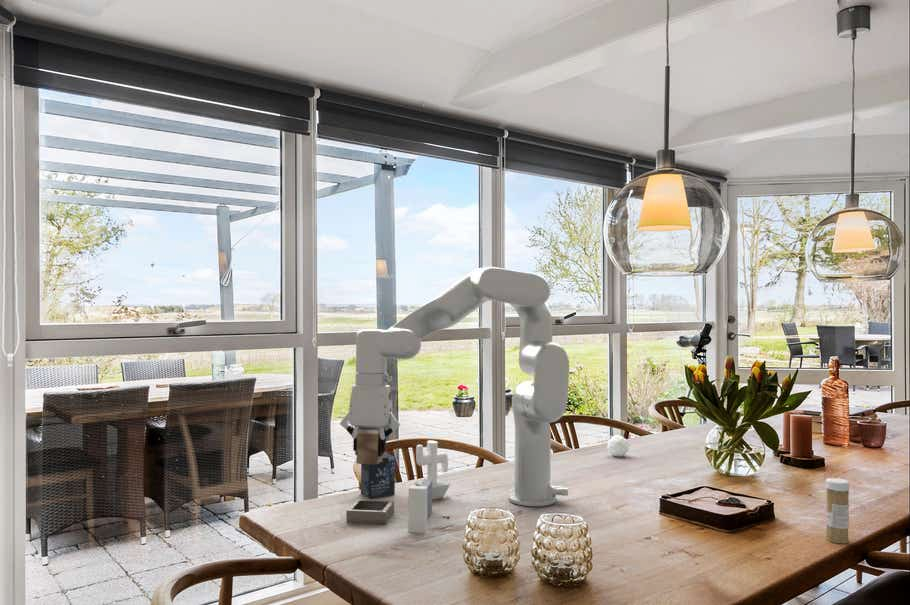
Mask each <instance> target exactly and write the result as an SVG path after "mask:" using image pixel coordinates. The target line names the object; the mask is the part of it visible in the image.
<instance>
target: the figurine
mask: <svg viewBox="0 0 910 605" xmlns="http://www.w3.org/2000/svg"><path fill="white" fill-rule="evenodd" d="M438 446H439V442H438V441H437V440H433V439H431V440H426V452H427V453H425V454H424V447H423V445H422V444H417V445H416V447H415V450H416V451H415V456H416V457H415V458H416V460H415V462H416V464H417V465H418V466H420V467H421V466H422V467H423V466H426V471H427V473H426V479H431V480H432V500H435V499H436V500H437V499H442V498H444V497H445V495H446V493H447V491H448V489H449V487H450V486H451V483H448V482H447V481H444V480H442V479H440V478H438V465H439V464H440V470H441V472H443V473H447V472H448V471H449V457H448V454H447V452H444V451H443V452H442V451H440V452H438V448H439V447H438ZM423 481H424V479H423V480H419V481H413V482H414V486H420V485H421V484H422V482H423Z"/></svg>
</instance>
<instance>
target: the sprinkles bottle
mask: <svg viewBox="0 0 910 605" xmlns="http://www.w3.org/2000/svg"><path fill="white" fill-rule="evenodd" d="M850 485H851V484H850V481H848V480H846V479H842V478H839V477H838V478H836V477H829V478H826V480H825V488H826V510H825V511H826V514H825V515H826V516H825V517H826V518H825V520H826V521H825V524H826V533H825V534H826V535H825V538H826V540H828V541H829V542H832V543H836V544H847V543H848V544H849V542H850V540H849V525H850V522H849V521H850V519H849V518H850V515H849V514H850V504H849V502H850V501H849V493H850V492H849V491H850V490H851V489H850Z"/></svg>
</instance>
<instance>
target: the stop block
mask: <svg viewBox="0 0 910 605" xmlns="http://www.w3.org/2000/svg"><path fill="white" fill-rule="evenodd" d="M379 439H380V434H379V430H378V427H361V428H360V429H357V455H356V464H357V465H358V464H359V465H361V464H375V465H377V464H378V463H379V462H380V461H381V460H382V456H378V441H379Z"/></svg>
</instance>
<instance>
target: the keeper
mask: <svg viewBox="0 0 910 605" xmlns="http://www.w3.org/2000/svg"><path fill="white" fill-rule="evenodd" d="M394 513H395V500H390V499H389V500H388V499H386V500H385V499H365V498H364V499H362V498H361V499H360V498H357V499H356V500H355V501H354V502H353V503H352V504H351V505H350V506H349V507H348V508H347V510H346V513H345V514H346V524H353V525H356V524H357V525H359V524H360V525H378V526H379V525H381V526H385V525H386V526H387V524H388V522H389V521H390V519H391V518H392V516H393V515H394Z"/></svg>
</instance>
